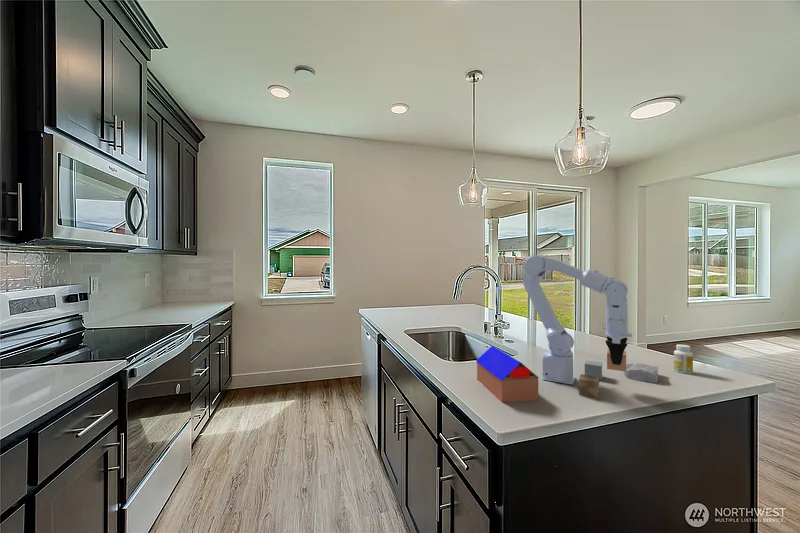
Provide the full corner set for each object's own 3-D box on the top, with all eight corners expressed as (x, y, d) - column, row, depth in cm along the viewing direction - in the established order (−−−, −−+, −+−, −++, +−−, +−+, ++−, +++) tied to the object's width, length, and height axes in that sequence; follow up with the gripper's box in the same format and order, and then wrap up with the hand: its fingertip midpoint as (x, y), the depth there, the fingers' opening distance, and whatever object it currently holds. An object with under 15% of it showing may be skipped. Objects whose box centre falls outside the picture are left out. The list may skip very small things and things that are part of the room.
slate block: (584, 378, 117) (584, 363, 117) (586, 374, 121) (585, 360, 121) (601, 380, 114) (601, 366, 114) (602, 376, 118) (602, 362, 118)
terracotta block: (607, 368, 104) (606, 352, 104) (607, 364, 108) (607, 349, 108) (626, 371, 102) (626, 355, 102) (626, 367, 106) (626, 351, 106)
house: (508, 377, 118) (508, 345, 118) (540, 401, 98) (539, 361, 98) (475, 379, 116) (475, 346, 116) (501, 403, 96) (501, 363, 96)
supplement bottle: (691, 370, 123) (691, 344, 123) (694, 375, 118) (694, 348, 118) (672, 368, 126) (672, 343, 126) (675, 372, 121) (675, 346, 121)
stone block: (625, 384, 115) (661, 384, 110) (622, 370, 116) (657, 369, 110) (626, 376, 125) (659, 375, 119) (623, 362, 126) (656, 362, 120)
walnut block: (578, 395, 102) (578, 378, 102) (580, 389, 106) (580, 374, 106) (598, 398, 99) (597, 381, 99) (599, 393, 103) (599, 377, 103)
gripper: (632, 323, 97) (632, 370, 97) (631, 316, 109) (631, 358, 109) (604, 321, 101) (604, 366, 101) (606, 315, 113) (606, 355, 113)
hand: (616, 361), depth 105 cm, fingers closed on terracotta block, 5 cm apart
